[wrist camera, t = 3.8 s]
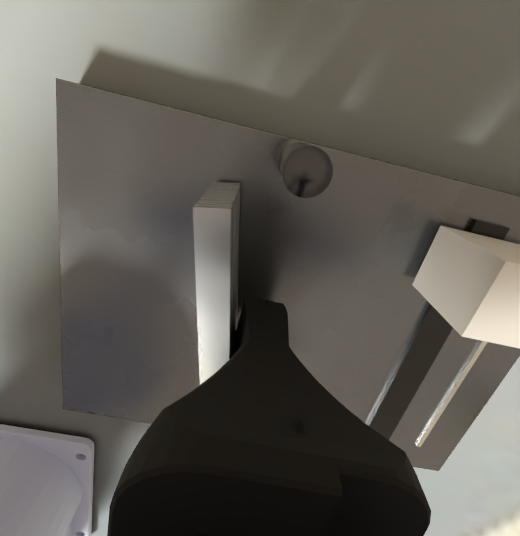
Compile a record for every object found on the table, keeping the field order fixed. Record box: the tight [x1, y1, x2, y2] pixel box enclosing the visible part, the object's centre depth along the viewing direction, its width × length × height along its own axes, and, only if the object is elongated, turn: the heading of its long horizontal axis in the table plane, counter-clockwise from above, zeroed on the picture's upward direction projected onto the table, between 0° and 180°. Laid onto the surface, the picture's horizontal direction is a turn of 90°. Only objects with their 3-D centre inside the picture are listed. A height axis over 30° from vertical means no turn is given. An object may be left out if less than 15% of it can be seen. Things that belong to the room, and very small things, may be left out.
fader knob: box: [412, 226, 520, 348], centre depth 9 cm, size 2×4×3 cm, turn 77°
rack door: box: [193, 182, 240, 385], centre depth 10 cm, size 10×1×3 cm, turn 177°
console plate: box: [56, 78, 520, 471], centre depth 11 cm, size 13×18×6 cm
